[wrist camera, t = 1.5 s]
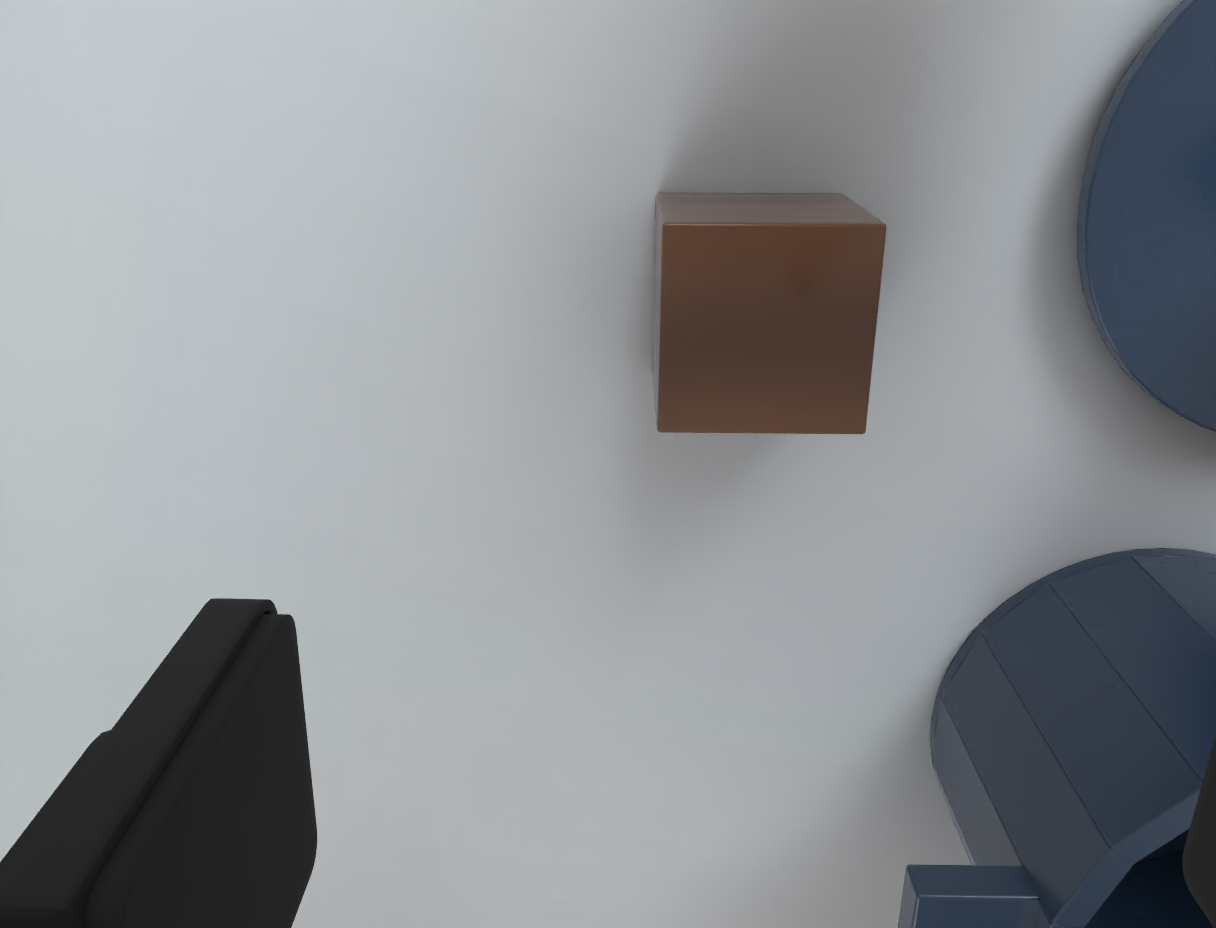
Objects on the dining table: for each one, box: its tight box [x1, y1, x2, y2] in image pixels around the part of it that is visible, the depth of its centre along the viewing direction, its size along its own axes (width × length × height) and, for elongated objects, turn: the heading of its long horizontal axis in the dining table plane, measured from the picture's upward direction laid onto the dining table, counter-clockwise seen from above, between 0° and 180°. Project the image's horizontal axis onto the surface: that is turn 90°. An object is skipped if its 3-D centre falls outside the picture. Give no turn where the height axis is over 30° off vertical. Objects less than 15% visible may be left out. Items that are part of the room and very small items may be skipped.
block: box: [652, 193, 886, 434], centre depth 24 cm, size 5×5×5 cm
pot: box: [898, 548, 1216, 928], centre depth 27 cm, size 12×17×9 cm
